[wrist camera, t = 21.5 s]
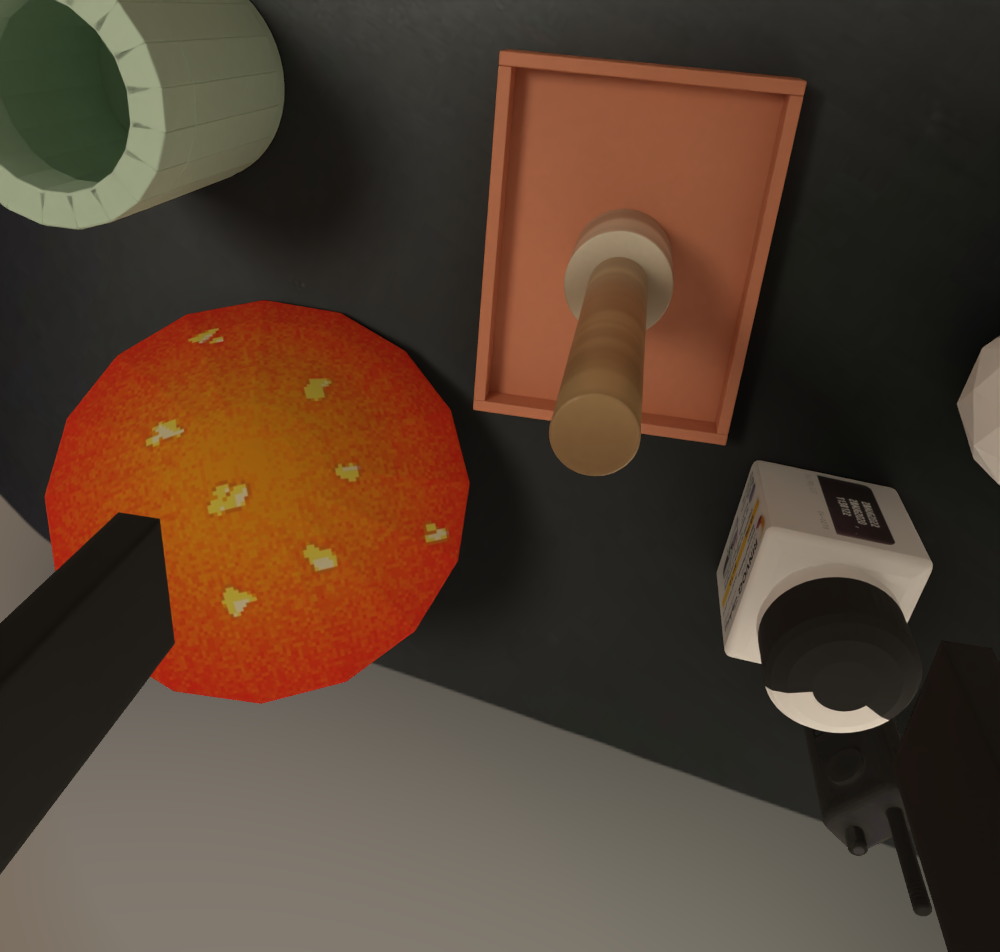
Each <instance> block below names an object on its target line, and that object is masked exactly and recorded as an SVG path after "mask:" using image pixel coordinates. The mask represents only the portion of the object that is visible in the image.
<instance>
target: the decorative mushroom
mask: <svg viewBox="0 0 1000 952" xmlns="http://www.w3.org/2000/svg"><path fill="white" fill-rule="evenodd" d="M469 485H470V482H469V478H468V474H467V470H466V467H465V463H464V459H463V455H462V451H461V447H460V443H459V440H458V436H457V432H456V428H455V424H454V420H453V416H452V413H451V410H450V408H449V407H448V406H447V404H446V403H445V402H444V401H443V399H442V398H441V397H440V395H439V394H438V393H437V391H436V390H435V389H434V388H433V386H432V385H431V384H430V382H429V381H428V380H427V378H426V377H425V376H424V374H423V373H422V372H421V371H420V369H419V368H418V367H417V365H416V364H415V363H414V361H413V360H412V359H411V357H410V356H409V355H408V354H407V352H406V351H405V350H403V349H401V348H399V347H398V346H396V345H394V344H393V343H391V342H389V341H388V340H386V339H384V338H382V337H381V336H379V335H377V334H376V333H374V332H372V331H371V330H369V329H367V328H366V327H364V326H362V325H360V324H359V323H357V322H355V321H354V320H352V319H350V318H349V317H347V316H345V315H343V314H342V313H339V312H333V311H327V310H321V309H315V308H309V307H303V306H297V305H291V304H285V303H279V302H274V301H268V300H262V301H256V302H251V303H246V304H240V305H235V306H229V307H224V308H219V309H213V310H208V311H203V312H197V313H192V314H187V315H185V316H183V317H182V318H180V319H178V320H176V321H175V322H173V323H171V324H170V325H168V326H166V327H165V328H163V329H161V330H160V331H158V332H156V333H155V334H153V335H151V336H149V337H148V338H146V339H144V340H143V341H141V342H139V343H138V344H136V345H134V346H133V347H131V348H129V349H128V350H126V351H124V352H122V353H121V354H119V355H117V357H116V358H115V359H114V360H113V362H112V363H111V364H110V365H109V367H108V368H107V369H106V370H105V372H104V373H103V374H102V375H101V377H100V378H99V379H98V381H97V382H96V383H95V384H94V386H93V387H92V388H91V389H90V391H89V392H88V393H87V394H86V396H85V397H84V398H83V399H82V401H81V402H80V403H79V404H78V406H77V407H76V408H75V409H74V411H73V412H72V413H71V415H70V416H69V417H68V418H67V421H66V424H65V428H64V431H63V435H62V438H61V442H60V445H59V449H58V452H57V455H56V459H55V462H54V466H53V469H52V473H51V476H50V480H49V483H48V487H47V490H46V494H45V503H46V510H47V517H48V524H49V531H50V538H51V545H52V552H53V559H54V566H55V571H56V570H58V569H59V568H60V567H61V566H62V565H63V564H64V563H65V562H66V561H67V560H68V559H69V558H70V557H71V556H72V555H73V554H75V553H76V552H77V551H78V550H79V549H80V548H81V547H82V546H83V545H84V544H85V543H86V542H87V541H88V540H89V539H90V538H92V537H93V536H94V535H95V534H96V533H97V532H98V531H99V530H100V529H101V528H102V527H103V526H104V525H105V524H106V523H107V522H109V521H110V520H111V519H112V518H113V517H114V516H115V515H116V514H117V513H118V512H120V513H127V514H133V515H140V516H146V517H152V518H159V519H160V523H161V532H162V540H163V548H164V557H165V565H166V573H167V581H168V590H169V598H170V606H171V615H172V623H173V631H174V640H175V644H174V645H173V647H172V648H171V649H170V651H169V652H168V653H167V655H166V656H165V657H164V659H163V660H162V661H161V663H160V664H159V665H158V667H157V668H156V669H155V671H154V672H153V673H152V674H151V676H150V677H152V678H153V679H155V680H157V681H158V682H160V683H162V684H163V685H165V686H166V687H168V688H170V689H171V690H173V691H176V692H183V693H190V694H197V695H204V696H211V697H218V698H226V699H232V700H240V701H246V702H254V703H265V702H269V701H273V700H277V699H281V698H285V697H288V696H293V695H296V694H300V693H304V692H308V691H312V690H316V689H320V688H323V687H327V686H331V685H335V684H339V683H343V682H346V681H348V680H349V679H350V678H352V677H353V676H355V675H356V674H357V673H359V672H360V671H361V670H362V669H364V668H365V667H367V666H368V665H369V664H371V663H372V662H373V661H375V660H376V659H378V658H379V657H380V656H382V655H383V654H384V653H386V652H387V651H388V650H390V649H391V648H392V647H394V646H395V645H397V644H398V643H399V642H401V641H402V640H403V639H405V638H406V637H407V636H409V635H410V634H411V633H413V632H414V631H415V630H416V629H417V627H418V625H419V624H420V622H421V620H422V619H423V617H424V615H425V614H426V612H427V611H428V609H429V607H430V606H431V604H432V602H433V601H434V599H435V597H436V596H437V594H438V593H439V591H440V589H441V588H442V586H443V584H444V583H445V581H446V579H447V578H448V576H449V574H450V573H451V571H452V570H453V568H454V566H455V565H456V563H457V561H458V557H459V551H460V544H461V538H462V531H463V524H464V518H465V511H466V505H467V498H468V492H469Z"/></svg>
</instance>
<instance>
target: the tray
mask: <svg viewBox="0 0 1000 952" xmlns="http://www.w3.org/2000/svg"><path fill="white" fill-rule="evenodd" d="M499 65H500V66H499V67H498V80H497V93H496V107H495V120H494V134H493V147H492V161H491V174H490V187H489V201H488V214H487V228H486V241H485V255H484V268H483V282H482V295H481V308H480V322H479V335H478V349H477V362H476V376H475V389H474V403H473V410H478V411H485V412H492V413H499V414H507V415H514V416H521V417H528V418H535V419H542V420H549V421H551V419H552V416H553V412H554V408H555V404H556V401H557V397H558V393H559V390H560V386H561V382H562V379H563V375H564V371H565V367H566V364H567V360H568V356H569V353H570V349H571V345H572V341H573V338H574V334H575V330H576V327H577V323H578V320H577V319H576V318H575V317H574V315H573V314H572V312H571V310H570V308H569V307H568V304H567V301H566V298H565V293H564V277H565V272H566V269H567V266H568V263H569V260H570V258H571V255H572V252H573V250H574V247H575V244H576V241H577V239H578V237H579V235H580V233H581V232H582V230H583V229H584V228H585V227H586V225H587V224H588V223H589V222H591V221H592V220H593V219H594V218H596V217H597V216H599V215H601V214H603V213H605V212H608V211H611V210H616V209H632V210H637V211H640V212H643V213H645V214H647V215H649V216H650V217H652V218H653V219H654V220H656V221H657V222H658V223H659V224H660V225H661V227H662V228H663V229H664V231H665V232H666V234H667V236H668V238H669V241H670V244H671V249H672V261H673V293H672V297H671V301H670V303H669V306H668V308H667V309H666V311H665V313H664V314H663V315H662V317H661V318H660V319H659V320H658V321H657V322H656V323H655V324H654V325H653V326H651V327H650V328H649V329H647V330H646V336H645V357H644V378H643V398H642V419H641V434H648V435H655V436H662V437H669V438H677V439H684V440H691V441H698V442H705V443H712V444H719V445H726V442H727V437H728V433H729V428H730V424H731V419H732V415H733V411H734V406H735V402H736V397H737V393H738V388H739V384H740V379H741V375H742V370H743V366H744V361H745V357H746V352H747V348H748V343H749V339H750V334H751V330H752V326H753V321H754V317H755V312H756V308H757V303H758V299H759V294H760V290H761V285H762V281H763V276H764V272H765V267H766V263H767V258H768V254H769V249H770V245H771V240H772V236H773V232H774V227H775V223H776V218H777V214H778V209H779V205H780V200H781V196H782V191H783V187H784V182H785V178H786V173H787V169H788V164H789V160H790V155H791V151H792V147H793V142H794V138H795V133H796V129H797V124H798V120H799V115H800V111H801V106H802V102H803V95H804V93H805V88H806V84H807V81H805V80H803V79H801V78H795V77H785V76H775V75H765V74H755V73H745V72H735V71H725V70H715V69H705V68H694V67H684V66H674V65H664V64H654V63H644V62H634V61H624V60H614V59H604V58H594V57H583V56H573V55H563V54H553V53H543V52H533V51H523V50H513V49H506V50H501V51H500V54H499Z"/></svg>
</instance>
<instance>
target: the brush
mask: <svg viewBox="0 0 1000 952" xmlns="http://www.w3.org/2000/svg"><path fill="white" fill-rule="evenodd" d="M564 293H565V298H566V301H567V304H568V307H569V308H570V310H571V312H572V314H573V315H574V317H575V318H576V319H577V320H578V323H577V327H576V330H575V334H574V338H573V341H572V345H571V349H570V353H569V356H568V360H567V364H566V367H565V371H564V375H563V379H562V382H561V386H560V390H559V393H558V397H557V401H556V404H555V408H554V412H553V416H552V419H551V423H550V428H549V438H550V443H551V446H552V449H553V451H554V453H555V455H556V456H557V457H558V459H559V460H560V461H561V462H562V463H563V464H564V465H566V466H567V467H568V468H570V469H571V470H573V471H575V472H577V473H580V474H584V475H589V476H602V475H608V474H611V473H614V472H616V471H618V470H620V469H622V468H623V467H624V466H626V465H627V464H628V463H629V462H630V461H631V460H632V459H633V457H634V456H635V454H636V452H637V450H638V448H639V444H640V438H641V419H642V398H643V378H644V357H645V336H646V330H647V329H649V328H650V327H651V326H653V325H654V324H655V323H656V322H657V321H658V320H659V319H660V318H661V317H662V315H663V314H664V313H665V311H666V309H667V308H668V306H669V303H670V301H671V297H672V293H673V261H672V249H671V244H670V241H669V238H668V236H667V234H666V232H665V231H664V229H663V228H662V227H661V225H660V224H659V223H658V222H657V221H656V220H654V219H653V218H652V217H650V216H649V215H647V214H645V213H643V212H640V211H637V210H632V209H616V210H611V211H608V212H605V213H603V214H601V215H599V216H597V217H596V218H594V219H593V220H592V221H591V222H589V223H588V224H587V225H586V227H585V228H584V229H583V230H582V232H581V233H580V235H579V237H578V239H577V241H576V244H575V247H574V250H573V252H572V255H571V258H570V260H569V263H568V266H567V269H566V272H565V277H564Z"/></svg>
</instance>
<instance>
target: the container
mask: <svg viewBox="0 0 1000 952" xmlns="http://www.w3.org/2000/svg"><path fill="white" fill-rule="evenodd" d="M932 567H933V564H932V562H931V560H930V558H929V556H928V554H927V552H926V550H925V548H924V546H923V544H922V542H921V539H920V537H919V535H918V533H917V531H916V529H915V527H914V525H913V523H912V521H911V519H910V517H909V515H908V513H907V511H906V509H905V507H904V505H903V503H902V501H901V499H900V497H899V495H898V493H897V491H896V490H895V489H893V488H890V487H886V486H881V485H876V484H871V483H867V482H862V481H857V480H852V479H847V478H843V477H838V476H833V475H828V474H824V473H819V472H814V471H809V470H805V469H800V468H795V467H790V466H785V465H781V464H776V463H771V462H766V461H762V460H757V461H755V462H754V463H753V464H752V467H751V470H750V473H749V476H748V479H747V482H746V485H745V488H744V491H743V494H742V497H741V500H740V503H739V506H738V509H737V512H736V515H735V518H734V521H733V524H732V527H731V530H730V533H729V536H728V540H727V543H726V546H725V549H724V552H723V555H722V558H721V561H720V564H719V567H718V570H717V582H718V592H719V602H720V611H721V621H722V631H723V641H724V651H725V652H726V654H727V655H728V656H730V657H733V658H738V659H742V660H747V661H751V662H756V663H760V664H762V670H763V676H764V682H765V687H766V690H767V693H768V695H769V697H770V698H771V700H772V702H773V703H774V704H775V705H776V707H777V708H778V709H779V710H780V711H781V712H782V713H784V714H785V715H786V716H788V717H789V718H790V719H792V720H794V721H796V722H798V723H800V724H802V725H804V726H807V727H810V728H813V729H816V730H820V731H825V732H832V733H851V732H858V731H863V730H867V729H871V728H874V727H876V726H879V725H881V724H883V723H885V722H887V721H889V720H890V719H892V718H893V717H895V716H896V715H897V714H899V713H900V712H901V711H902V710H903V709H904V708H905V707H907V705H908V704H909V703H910V702H911V701H912V699H913V698H914V696H915V695H916V693H917V691H918V689H919V686H920V684H921V679H922V661H921V657H920V654H919V652H918V649H917V647H916V644H915V642H914V639H913V637H912V634H911V632H910V629H909V627H908V624H907V623H908V620H909V618H910V616H911V614H912V612H913V610H914V608H915V606H916V603H917V601H918V599H919V597H920V595H921V593H922V591H923V588H924V586H925V584H926V582H927V580H928V578H929V576H930V574H931V571H932Z"/></svg>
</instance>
